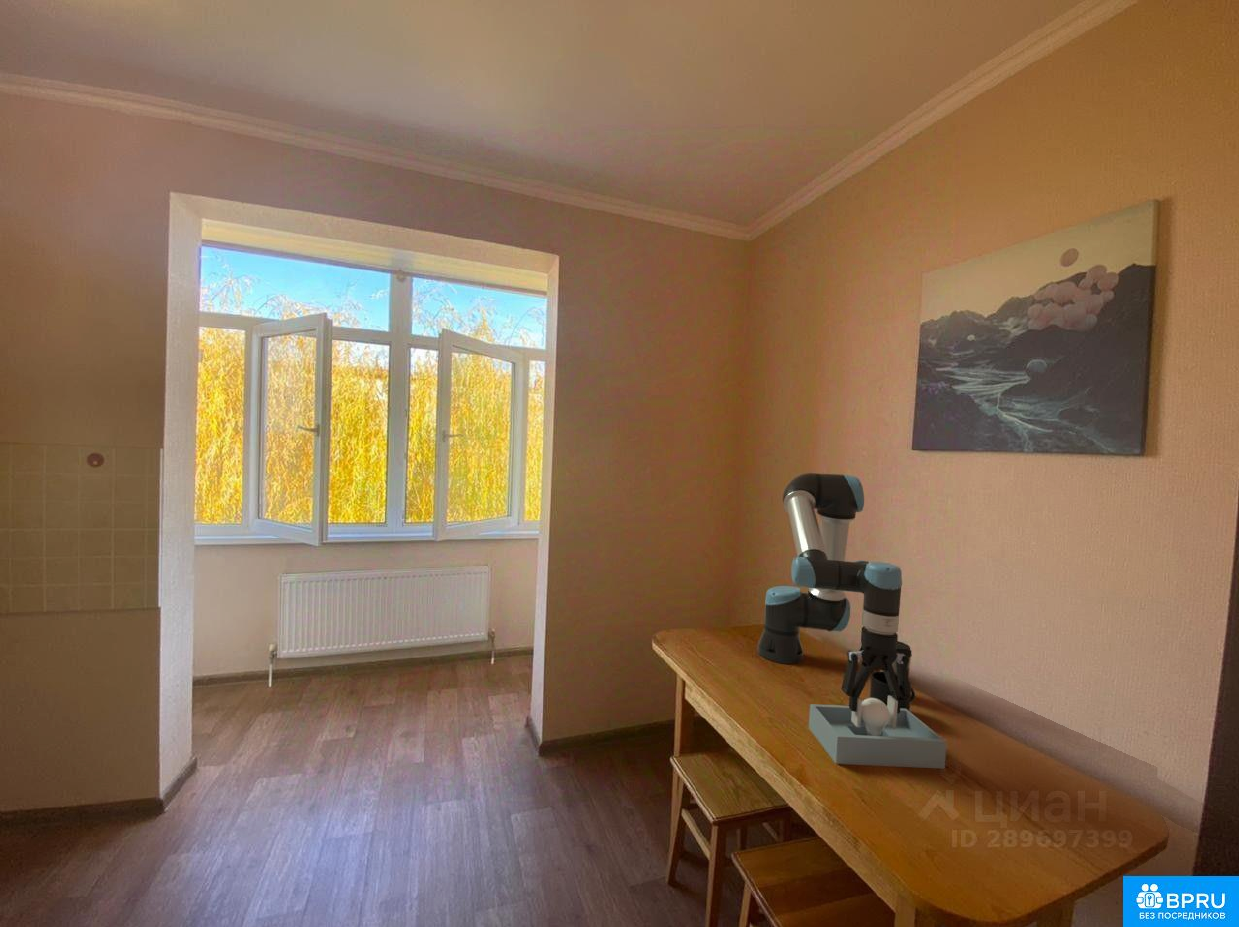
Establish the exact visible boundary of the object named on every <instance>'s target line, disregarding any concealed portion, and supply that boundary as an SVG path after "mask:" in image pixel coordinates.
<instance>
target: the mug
mask: <svg viewBox="0 0 1239 927" xmlns="http://www.w3.org/2000/svg"><path fill="white" fill-rule="evenodd" d="M894 675H895V678H896V681H897V684H898V678H897V675H896V674H894ZM909 689H910V698H908V699H907V698H903V699H904V702H903V703H901V707H900V708H903V709H907V710H908V711H910V712H911V710H910V707H911V703H913V701H914V699H915V698H916V697H915V696H916V694H915V690H914V689H913V688H912V683H911V682H910V681H909ZM869 690H870V692H869V698H876V699H879V700H881V701H882V702H883V703H884V704H885V705H886V706H887V701H888V696H892V694H891V692H890V689H889V686H888V683H887V680H886V677H885V674H884V672H880V671H873V673H872V674H870V689H869Z"/></svg>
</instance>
